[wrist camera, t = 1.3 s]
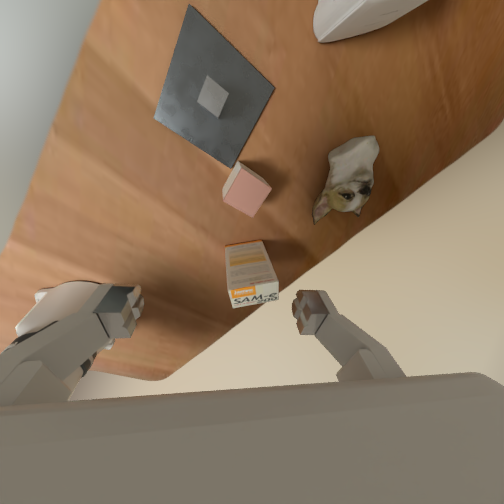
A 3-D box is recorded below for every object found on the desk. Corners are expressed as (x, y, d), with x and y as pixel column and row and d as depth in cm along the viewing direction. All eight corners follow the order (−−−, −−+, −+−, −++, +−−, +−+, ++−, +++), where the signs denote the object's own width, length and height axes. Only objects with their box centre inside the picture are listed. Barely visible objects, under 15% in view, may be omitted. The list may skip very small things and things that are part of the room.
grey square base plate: (230, 168, 30) (232, 176, 25) (154, 118, 25) (138, 116, 20) (273, 88, 25) (286, 78, 20) (189, 5, 20) (179, -34, 15)
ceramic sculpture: (422, 131, 23) (381, 231, 32) (376, 126, 29) (353, 210, 39) (341, 143, 22) (324, 241, 32) (313, 135, 29) (305, 218, 38)
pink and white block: (247, 203, 34) (252, 217, 28) (222, 188, 31) (223, 201, 26) (263, 178, 31) (272, 188, 26) (237, 160, 29) (241, 168, 24)
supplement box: (228, 262, 41) (231, 310, 30) (224, 244, 38) (226, 290, 27) (263, 256, 41) (279, 301, 31) (262, 238, 39) (279, 281, 28)
